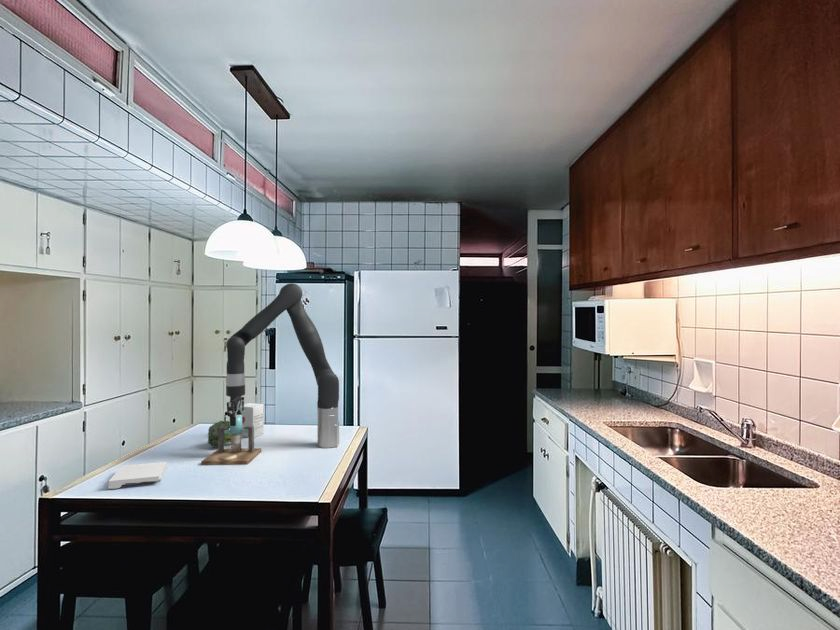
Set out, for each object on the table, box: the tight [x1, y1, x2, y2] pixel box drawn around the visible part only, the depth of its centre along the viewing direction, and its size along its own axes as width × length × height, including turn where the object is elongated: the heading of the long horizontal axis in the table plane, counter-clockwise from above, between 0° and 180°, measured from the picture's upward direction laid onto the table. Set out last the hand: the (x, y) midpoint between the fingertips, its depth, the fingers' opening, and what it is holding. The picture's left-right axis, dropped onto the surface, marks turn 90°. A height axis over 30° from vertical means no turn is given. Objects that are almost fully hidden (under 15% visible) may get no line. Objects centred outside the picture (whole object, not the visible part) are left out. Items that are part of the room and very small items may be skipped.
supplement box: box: [241, 402, 265, 439], centre depth 239 cm, size 9×9×15 cm
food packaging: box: [108, 461, 168, 490], centre depth 177 cm, size 15×3×20 cm
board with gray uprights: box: [200, 426, 262, 466], centre depth 201 cm, size 18×18×12 cm
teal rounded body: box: [224, 415, 248, 434], centre depth 205 cm, size 9×5×7 cm, turn 91°
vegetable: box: [207, 420, 243, 449], centre depth 220 cm, size 12×13×15 cm
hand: (235, 424), depth 205 cm, fingers open, 6 cm apart
